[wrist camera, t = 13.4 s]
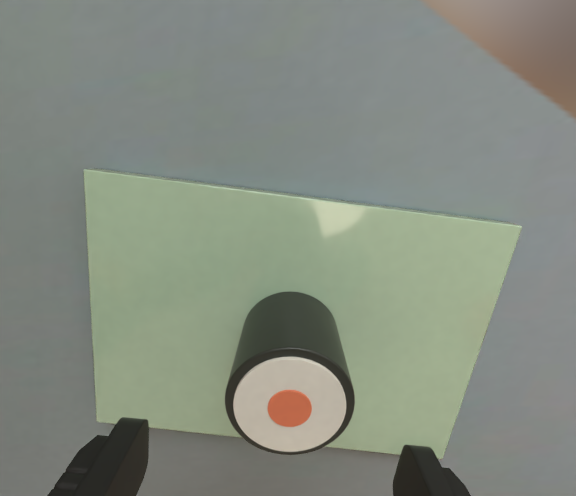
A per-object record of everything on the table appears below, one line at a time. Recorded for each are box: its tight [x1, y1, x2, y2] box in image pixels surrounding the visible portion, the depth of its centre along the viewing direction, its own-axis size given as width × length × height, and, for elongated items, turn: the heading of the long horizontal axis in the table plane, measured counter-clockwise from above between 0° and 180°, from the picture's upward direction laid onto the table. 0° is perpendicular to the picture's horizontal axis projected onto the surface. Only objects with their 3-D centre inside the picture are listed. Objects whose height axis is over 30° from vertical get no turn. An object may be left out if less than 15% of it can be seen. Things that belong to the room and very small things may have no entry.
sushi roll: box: [225, 291, 355, 455], centre depth 14 cm, size 5×5×5 cm
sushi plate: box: [84, 169, 522, 459], centre depth 17 cm, size 20×14×1 cm
